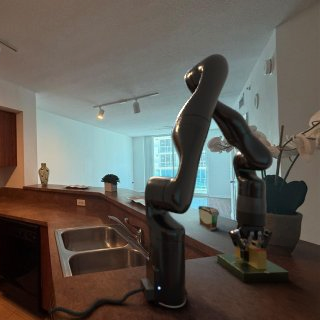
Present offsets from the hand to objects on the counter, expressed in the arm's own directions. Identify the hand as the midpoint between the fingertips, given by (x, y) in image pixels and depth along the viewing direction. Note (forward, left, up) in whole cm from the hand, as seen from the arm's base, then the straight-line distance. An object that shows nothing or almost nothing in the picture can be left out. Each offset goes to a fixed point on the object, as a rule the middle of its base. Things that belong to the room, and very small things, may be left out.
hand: (249, 260), depth 64 cm
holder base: (0, 0, -4) cm, 4 cm away
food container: (+14, +38, -4) cm, 41 cm away
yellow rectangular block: (0, 0, -1) cm, 1 cm away
